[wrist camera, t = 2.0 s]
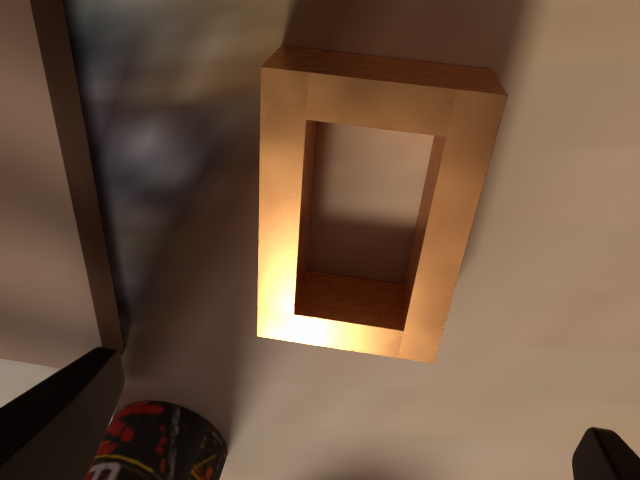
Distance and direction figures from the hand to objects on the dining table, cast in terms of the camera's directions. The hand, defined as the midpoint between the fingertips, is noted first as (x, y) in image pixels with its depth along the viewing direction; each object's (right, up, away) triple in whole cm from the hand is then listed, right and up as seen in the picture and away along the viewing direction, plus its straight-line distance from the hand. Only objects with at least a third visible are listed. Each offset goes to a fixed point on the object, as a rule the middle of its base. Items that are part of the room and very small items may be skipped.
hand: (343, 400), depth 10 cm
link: (+1, +4, +7) cm, 9 cm away
